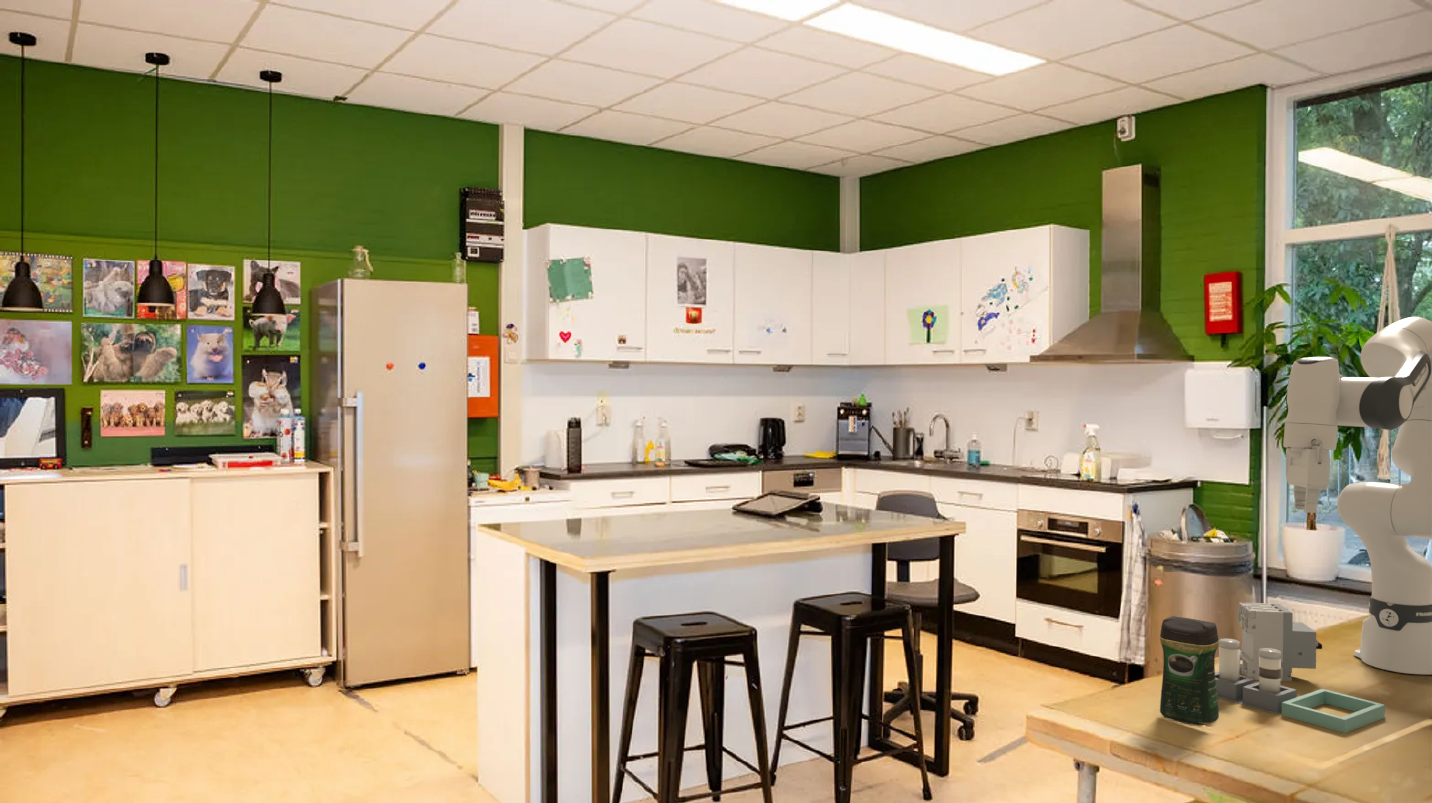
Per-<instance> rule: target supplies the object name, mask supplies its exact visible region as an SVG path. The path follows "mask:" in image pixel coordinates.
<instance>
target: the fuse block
mask: <svg viewBox="0 0 1432 803" xmlns="http://www.w3.org/2000/svg"><path fill="white" fill-rule="evenodd" d="M1215 680H1216V690H1217V698H1218V699H1221V700H1225V701H1229V702H1231V703H1235V704H1238V705H1242V706H1246V707H1248V708H1252V709H1256V710H1260V711H1263V712H1266V713H1270V714H1274V715H1277V714H1280V713H1282V702H1285V701H1288V700H1291V699H1294V698H1296V697H1298V689H1295V688H1292V687H1288V686H1284V685H1281V692H1279V693H1276V694H1274V693H1270V692H1267V691H1263V690H1259V681H1257V682H1256V680H1255V679H1254V678H1250V677H1246V676H1245V675H1243V674H1242V675H1241V674H1240V678H1239V681H1237V682H1234V683H1233V682H1230V681H1226V680H1222V679H1219V671H1215Z"/></svg>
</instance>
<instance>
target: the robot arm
mask: <svg viewBox="0 0 1432 803" xmlns="http://www.w3.org/2000/svg"><path fill="white" fill-rule="evenodd" d="M1360 363H1361V366H1362V368H1363V370H1364V372H1365V373H1366V374H1367V375H1368V376H1369V377H1368V376H1367V377H1364V376H1363V377H1362V376H1361V377H1359V376H1358V377H1357V376H1348V377H1347V376H1344V375H1342V374H1341V373H1340V366H1339V364H1340V363H1339V360H1338V359H1337V358H1334V357H1330V356H1311V357H1309V356H1308V357H1302V358H1298V359H1296V360H1295V361H1294V362H1293V364H1292V365H1291V366H1292V367H1291V369H1290V373H1289V378H1288V384H1287V392H1286V403H1287V408H1288V409H1287V410H1288V412H1287V415H1286V418H1285V419H1284V420H1285V421H1284V430H1283V431H1284V432H1283V434H1284V435H1283V441H1282V442H1283V443H1282V447H1284V448H1286V449H1285V478H1286V482H1287V485H1291V486H1293V499H1294V500H1293V501H1294V503H1293V504H1294V505H1293V508H1294V509H1295V510H1301V511H1302V510H1303V511H1304V512H1306V513H1308V514H1310V513H1311V514H1316V512H1317V509H1318V508H1317V507H1318V503H1319V500H1320V495H1321V491H1323V490H1325V491H1326V490H1328V488H1329V484H1330V469H1331V468H1330V467H1331V465H1330V462H1331V458H1330V457H1331V456H1330V451H1336V450H1337V439H1338V426H1341V427H1343V426H1344V427H1361V428H1362V427H1363V428H1373V429H1380V430H1386V431H1387V430H1388V431H1392V430H1396V429H1398V428H1399V429H1398V432H1397V435H1396V436H1395V441H1394V443H1393V446H1392V449H1391V459H1392V462H1393V464H1394V465H1395V467H1396V468H1398V469H1399V470H1400V471H1402V472H1403V473H1404V474H1406V475H1408V476H1410V477H1411V479H1410V481H1409V483H1404V484H1403V483H1402V484H1401V483H1393V482H1381V481H1364V482H1355V483H1350V484H1347V485H1346V486H1345V487H1344V488H1343V489H1342V490H1341V491H1340V493H1339V495H1338V498H1337V502H1336V503H1337V504H1336V509H1337V512H1338V515H1339V518H1340V519H1341V520H1342V522H1343V523H1344V524H1345V525H1346V526H1348V527H1349V528H1350V529H1351V530H1352V531H1353V532H1354V533H1355V534H1356V535H1357V536H1358V537H1359V539H1360V540H1361V542H1362V544H1363V546H1364V548H1365V549H1366V551H1367V552H1366V553H1367V555H1368V558H1369V561H1370V562H1369V563H1370V571H1371V595H1370V596H1369V601H1368V613H1369V616H1368V617H1366V618H1365V619H1363V621H1362V627H1361V636H1360V646H1359V649H1355V650H1354V651H1353V655H1354V656H1355V657H1357V658H1359V659H1360V660H1361V661H1362V662H1363V663H1364V664H1366V665H1369V666H1370V667H1374V668H1376V669H1377V668H1378V669H1381V670H1384V671H1385V670H1386V671H1390V672H1395V673H1401V674H1410V675H1432V564H1431V562H1430V561H1429V560H1428V559H1427V558H1425V557H1424V556H1422V555H1420V554H1419V553H1417V552H1416V551H1414V550H1413V549H1412V548H1411V546H1410V544H1409V542H1408V540H1407V537H1409V538H1410V537H1411V538H1419V539H1426V540H1432V321H1431V320H1429V319H1427V318H1425V317H1421V316H1410V317H1405V318H1402V319H1398V320H1397V321H1395V322H1392V323H1390V324H1388V325H1387V326H1385V327H1383V328H1382V329H1380V330H1379V331H1378V332H1376V333H1375V334H1374V335H1373V336H1371V337H1370V338H1369V339H1368V340H1367V341H1366V342H1365V343H1364V345H1363V347H1362V349H1361V352H1360Z"/></svg>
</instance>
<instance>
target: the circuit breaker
mask: <svg viewBox="0 0 1432 803" xmlns="http://www.w3.org/2000/svg"><path fill="white" fill-rule="evenodd" d="M1293 619H1294V618H1293V612H1292V611H1290V610H1289V609H1287V607H1285V606H1283V605H1282V604H1280V603H1265V602H1264V603H1262V602H1238V610H1237V623H1238V624H1239V626H1240V629H1241V650H1240V661H1241V662H1242V663H1240V673H1241V674H1242V675H1243V676H1246V677H1250V678H1254V679H1255V681H1256V680H1258V681H1259V649H1260V648H1272V649H1277V650H1280V651H1281V682H1292V681H1293V677H1292V674H1293V669H1308V670H1309V669H1312V670H1314V669H1315V670H1316V669H1317V650H1323V644H1322V643H1321V642H1319V641H1318V640H1317V631H1315V630H1314V629H1312V628H1311V627H1309V626H1308V625H1307V624H1305V623H1304V622H1298V621H1297V622H1296V621H1294V620H1293ZM1293 621H1294V622H1293Z"/></svg>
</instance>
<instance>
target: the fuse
mask: <svg viewBox="0 0 1432 803" xmlns="http://www.w3.org/2000/svg"><path fill="white" fill-rule="evenodd" d="M1240 648H1241V642H1240V641H1239V640H1237V639H1234V638H1220V639H1219V645H1218V672H1219V679H1222V680H1226V681H1230V682H1233V683H1234V682H1237V681H1239V678H1240V675H1241V674H1240V673H1241V671H1240V664H1241V660H1240V651H1241V649H1240Z"/></svg>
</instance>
